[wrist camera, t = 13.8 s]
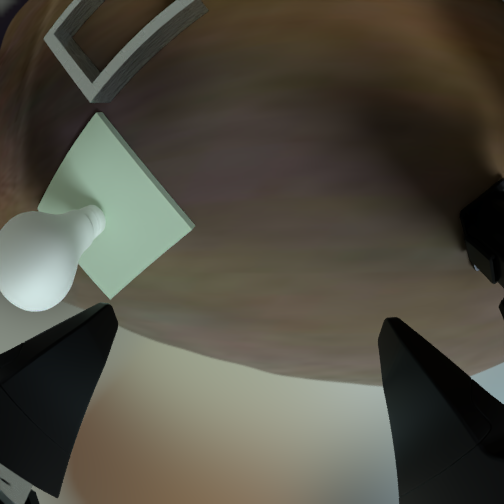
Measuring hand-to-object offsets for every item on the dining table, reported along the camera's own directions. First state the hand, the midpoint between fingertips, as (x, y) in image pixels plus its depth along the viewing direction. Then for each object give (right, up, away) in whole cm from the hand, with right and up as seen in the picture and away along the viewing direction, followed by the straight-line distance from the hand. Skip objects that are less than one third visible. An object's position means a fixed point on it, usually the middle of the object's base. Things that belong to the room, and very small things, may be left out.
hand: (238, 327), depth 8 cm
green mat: (-12, +6, +12) cm, 18 cm away
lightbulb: (-12, +5, +12) cm, 18 cm away
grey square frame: (-10, +20, +5) cm, 22 cm away
